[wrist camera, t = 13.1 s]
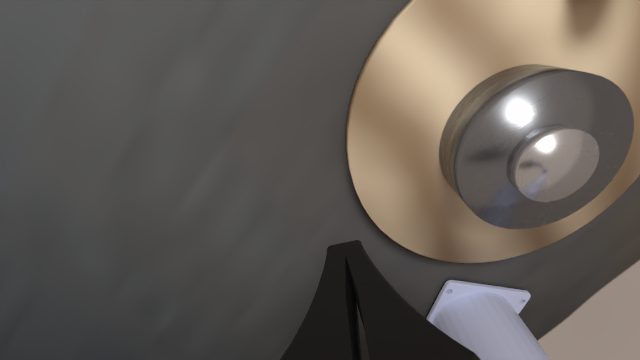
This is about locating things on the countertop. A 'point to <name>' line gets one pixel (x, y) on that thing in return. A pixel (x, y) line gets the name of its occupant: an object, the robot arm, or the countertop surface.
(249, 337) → the countertop surface
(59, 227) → the countertop surface
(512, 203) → the cover
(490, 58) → the beige round shallow disc
